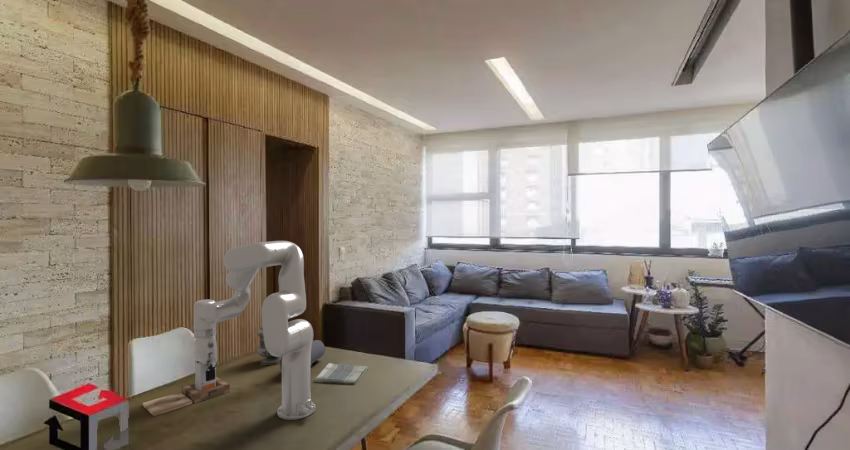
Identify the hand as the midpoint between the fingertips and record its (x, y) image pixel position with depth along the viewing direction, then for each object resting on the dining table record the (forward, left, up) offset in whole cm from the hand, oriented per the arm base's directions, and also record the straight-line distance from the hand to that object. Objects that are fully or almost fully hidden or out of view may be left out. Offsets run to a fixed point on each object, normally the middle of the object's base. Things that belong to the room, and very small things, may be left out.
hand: (205, 376), depth 155 cm
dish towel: (-26, -45, -7) cm, 53 cm away
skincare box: (0, 0, -6) cm, 6 cm away
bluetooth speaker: (-6, -39, -6) cm, 40 cm away
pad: (0, +13, -6) cm, 14 cm away
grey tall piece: (+13, -34, -6) cm, 37 cm away
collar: (0, 0, -6) cm, 6 cm away
